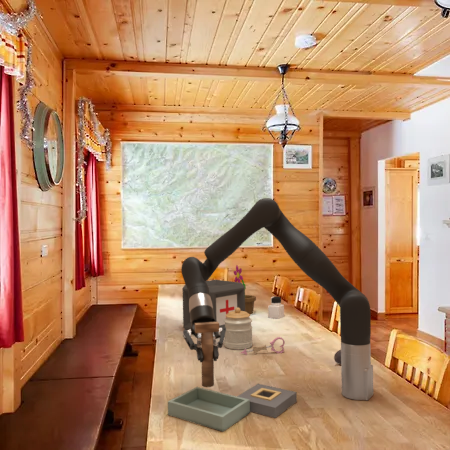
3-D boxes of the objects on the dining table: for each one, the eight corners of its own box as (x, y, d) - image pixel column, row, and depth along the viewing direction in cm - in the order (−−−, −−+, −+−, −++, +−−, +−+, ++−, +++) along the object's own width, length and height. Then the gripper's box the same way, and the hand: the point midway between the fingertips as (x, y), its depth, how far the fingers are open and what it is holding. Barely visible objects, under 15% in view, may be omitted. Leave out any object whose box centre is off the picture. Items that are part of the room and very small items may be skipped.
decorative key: (240, 361, 192) (285, 351, 194) (241, 362, 191) (286, 352, 193) (237, 345, 192) (283, 336, 194) (238, 346, 191) (283, 336, 193)
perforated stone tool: (337, 367, 173) (336, 349, 173) (331, 363, 178) (330, 345, 178) (372, 364, 176) (372, 346, 176) (365, 360, 181) (365, 343, 181)
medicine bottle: (284, 316, 265) (284, 296, 265) (279, 319, 259) (278, 298, 259) (273, 315, 269) (273, 295, 269) (268, 317, 263) (267, 297, 263)
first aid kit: (211, 340, 216) (210, 288, 216) (180, 331, 235) (179, 283, 235) (248, 331, 233) (247, 282, 233) (217, 323, 252) (216, 278, 251)
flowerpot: (229, 312, 280) (228, 264, 280) (249, 310, 286) (248, 263, 286) (239, 316, 267) (238, 266, 267) (260, 314, 273) (259, 265, 273)
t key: (218, 381, 136) (217, 321, 136) (220, 386, 133) (219, 323, 132) (195, 383, 135) (194, 322, 134) (197, 388, 131) (196, 325, 131)
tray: (250, 413, 134) (249, 399, 133) (222, 431, 122) (222, 417, 122) (197, 398, 145) (196, 386, 145) (167, 414, 133) (167, 401, 133)
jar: (250, 350, 197) (249, 310, 197) (221, 349, 200) (220, 310, 200) (254, 342, 210) (253, 305, 210) (227, 341, 213) (226, 304, 213)
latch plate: (296, 401, 141) (296, 390, 141) (275, 418, 130) (275, 406, 130) (258, 392, 149) (258, 382, 149) (235, 407, 138) (234, 396, 138)
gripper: (180, 305, 139) (185, 356, 127) (224, 302, 142) (234, 352, 130) (178, 318, 144) (183, 368, 133) (221, 316, 147) (230, 364, 136)
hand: (208, 360), depth 131 cm, fingers closed on t key, 3 cm apart
